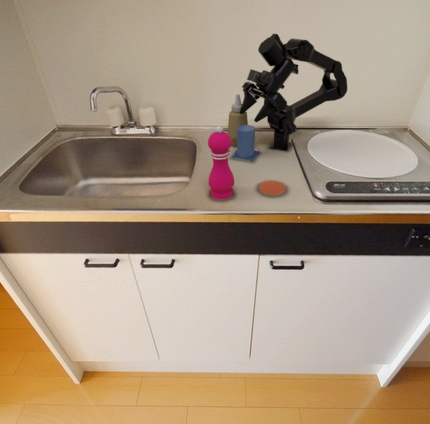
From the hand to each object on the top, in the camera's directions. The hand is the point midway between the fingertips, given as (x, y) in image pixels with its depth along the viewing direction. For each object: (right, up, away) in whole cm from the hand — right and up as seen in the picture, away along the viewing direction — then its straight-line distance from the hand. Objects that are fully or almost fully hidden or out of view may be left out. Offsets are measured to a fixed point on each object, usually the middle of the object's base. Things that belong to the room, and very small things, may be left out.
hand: (247, 117), depth 92 cm
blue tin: (0, -10, +8) cm, 13 cm away
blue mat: (0, -11, +8) cm, 14 cm away
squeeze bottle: (-2, -5, +17) cm, 18 cm away
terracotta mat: (+6, -24, -10) cm, 27 cm away
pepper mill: (-8, -26, -11) cm, 30 cm away
